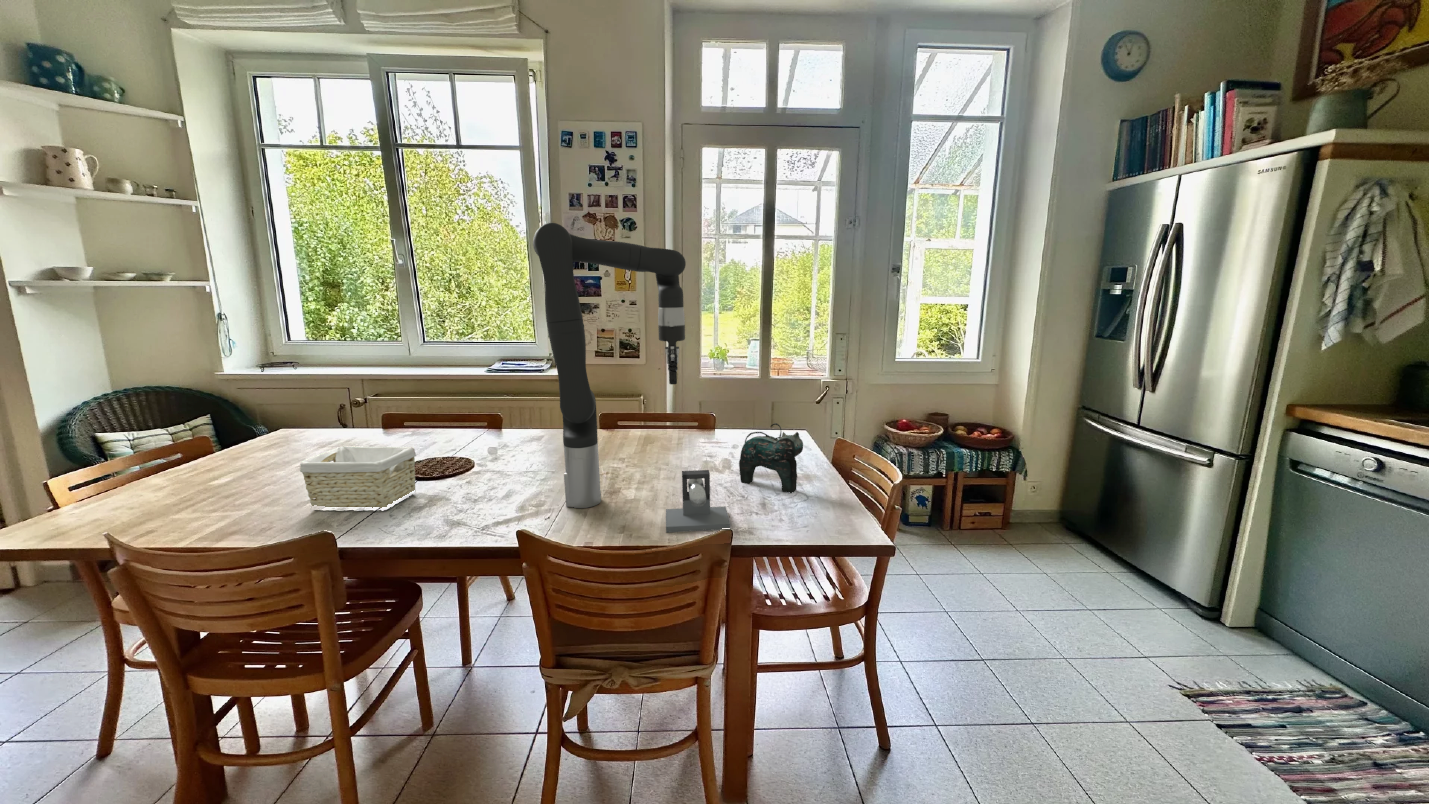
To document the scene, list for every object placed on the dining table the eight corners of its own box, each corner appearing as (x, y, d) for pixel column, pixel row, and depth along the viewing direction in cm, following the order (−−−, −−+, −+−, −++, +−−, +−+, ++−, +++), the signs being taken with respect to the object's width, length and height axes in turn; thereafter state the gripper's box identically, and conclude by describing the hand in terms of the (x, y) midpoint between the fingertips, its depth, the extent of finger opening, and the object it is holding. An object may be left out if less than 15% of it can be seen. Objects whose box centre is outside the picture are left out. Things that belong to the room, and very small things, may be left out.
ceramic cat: (803, 490, 160) (805, 425, 156) (793, 497, 155) (795, 429, 151) (745, 478, 171) (746, 416, 167) (735, 484, 166) (735, 420, 162)
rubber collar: (682, 500, 139) (682, 474, 137) (682, 496, 142) (681, 470, 140) (710, 499, 139) (709, 473, 138) (709, 495, 142) (708, 469, 141)
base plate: (666, 532, 133) (665, 511, 132) (665, 514, 144) (665, 494, 143) (730, 529, 134) (730, 508, 133) (725, 511, 145) (725, 492, 144)
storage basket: (303, 513, 147) (294, 461, 144) (348, 491, 163) (340, 444, 160) (386, 515, 145) (379, 463, 142) (423, 493, 161) (417, 445, 158)
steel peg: (690, 507, 131) (689, 491, 130) (688, 490, 141) (687, 476, 141) (706, 506, 131) (706, 490, 130) (703, 490, 142) (703, 475, 141)
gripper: (658, 322, 159) (660, 380, 162) (657, 325, 146) (659, 388, 149) (684, 322, 159) (685, 380, 163) (685, 324, 146) (686, 387, 150)
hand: (673, 383), depth 156 cm, fingers closed
